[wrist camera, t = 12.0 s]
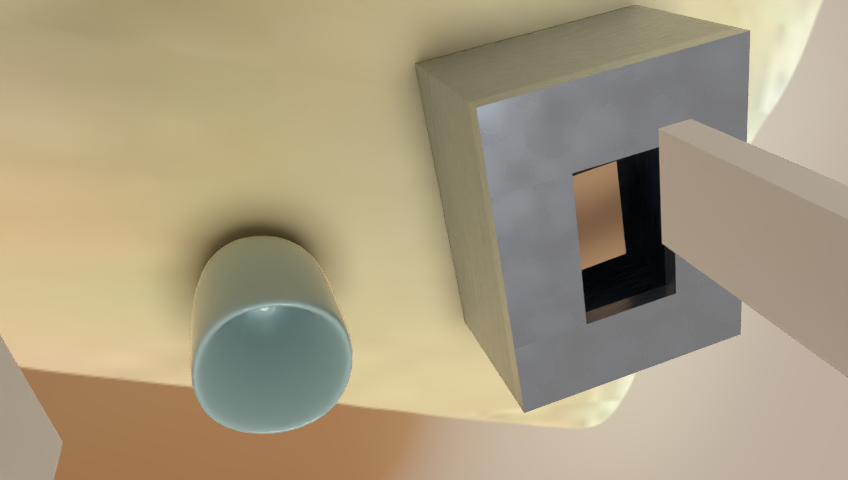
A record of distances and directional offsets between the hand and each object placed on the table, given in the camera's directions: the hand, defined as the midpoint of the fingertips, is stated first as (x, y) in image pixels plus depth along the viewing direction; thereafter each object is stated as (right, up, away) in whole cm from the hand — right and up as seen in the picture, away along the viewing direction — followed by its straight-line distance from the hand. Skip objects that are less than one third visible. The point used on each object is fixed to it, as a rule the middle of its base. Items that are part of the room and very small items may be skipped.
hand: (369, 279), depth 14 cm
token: (+9, +5, +31) cm, 33 cm away
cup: (-9, -1, +29) cm, 30 cm away
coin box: (+9, +5, +31) cm, 33 cm away
